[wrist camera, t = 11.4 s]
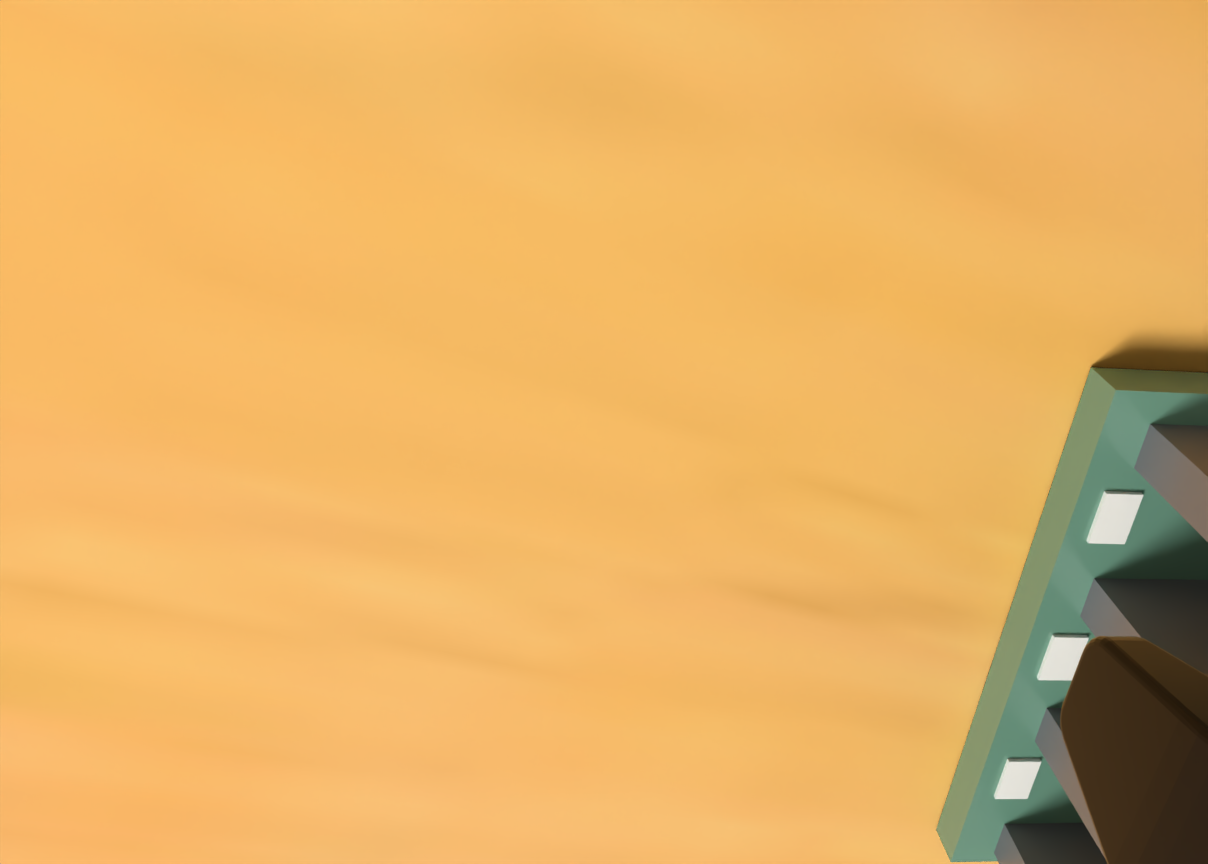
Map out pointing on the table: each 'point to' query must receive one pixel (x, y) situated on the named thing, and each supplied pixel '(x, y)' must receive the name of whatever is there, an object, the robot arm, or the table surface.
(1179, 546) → the strip
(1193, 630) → the block
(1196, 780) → the robot arm
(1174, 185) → the table surface
